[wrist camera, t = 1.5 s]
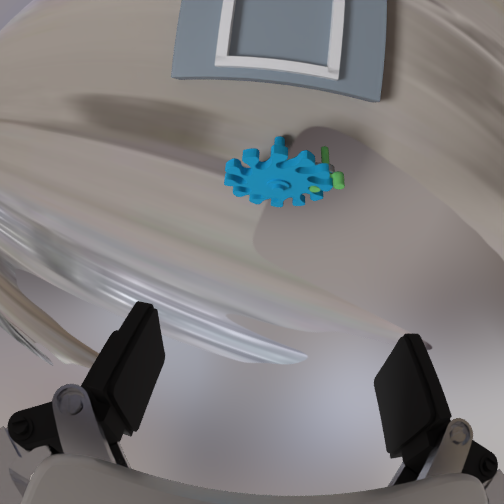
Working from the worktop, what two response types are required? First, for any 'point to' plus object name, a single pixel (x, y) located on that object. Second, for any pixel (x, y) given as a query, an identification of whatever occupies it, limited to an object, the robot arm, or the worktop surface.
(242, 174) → the blue cogwheel with peg
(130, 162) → the worktop surface
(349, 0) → the plate
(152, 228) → the worktop surface
